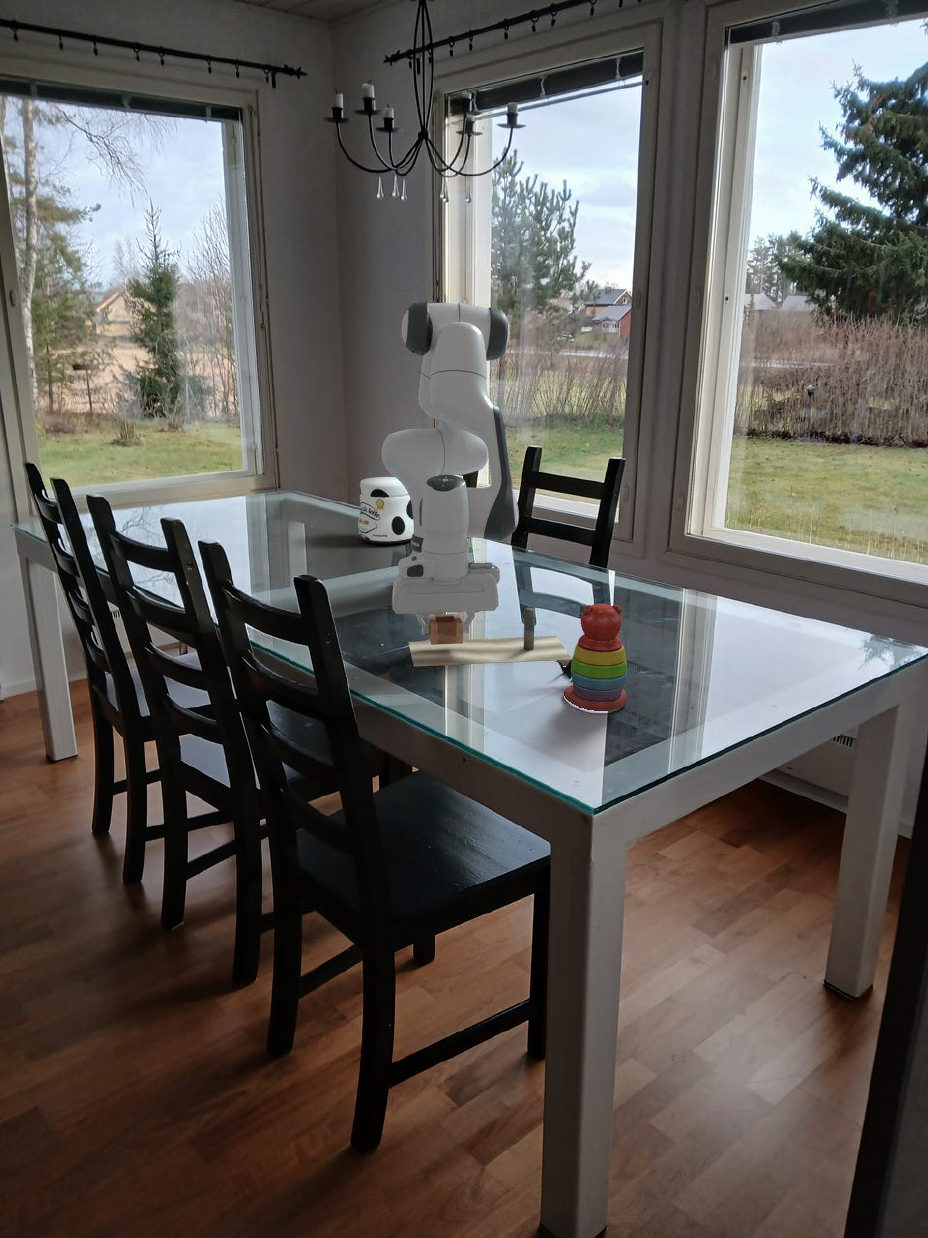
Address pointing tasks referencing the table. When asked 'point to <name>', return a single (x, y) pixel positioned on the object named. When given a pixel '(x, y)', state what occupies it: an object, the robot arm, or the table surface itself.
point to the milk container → (385, 511)
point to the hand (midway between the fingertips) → (445, 633)
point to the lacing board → (492, 649)
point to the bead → (445, 629)
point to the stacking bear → (599, 661)
